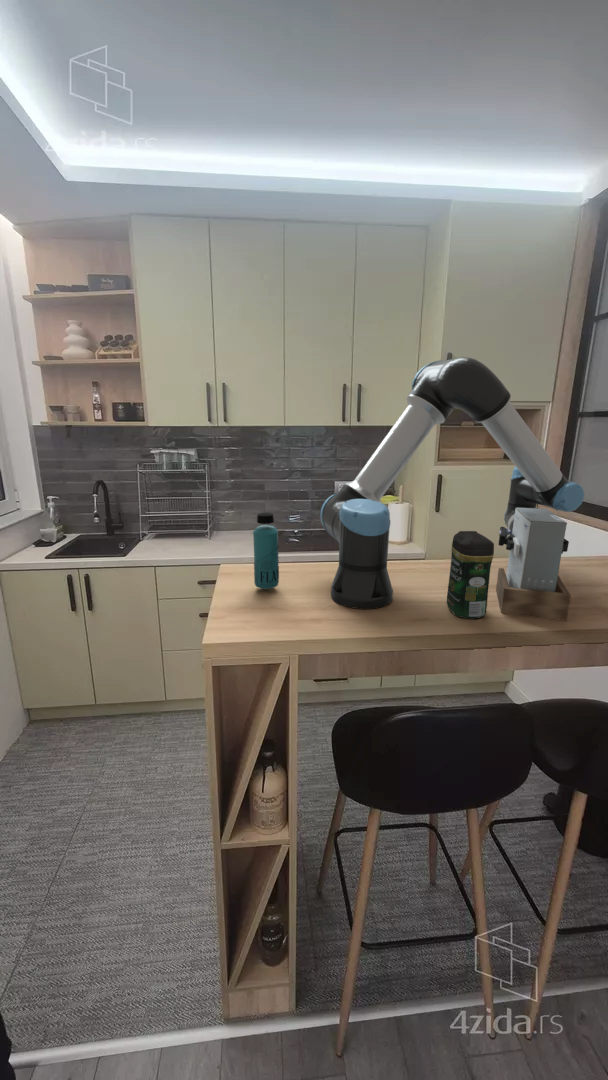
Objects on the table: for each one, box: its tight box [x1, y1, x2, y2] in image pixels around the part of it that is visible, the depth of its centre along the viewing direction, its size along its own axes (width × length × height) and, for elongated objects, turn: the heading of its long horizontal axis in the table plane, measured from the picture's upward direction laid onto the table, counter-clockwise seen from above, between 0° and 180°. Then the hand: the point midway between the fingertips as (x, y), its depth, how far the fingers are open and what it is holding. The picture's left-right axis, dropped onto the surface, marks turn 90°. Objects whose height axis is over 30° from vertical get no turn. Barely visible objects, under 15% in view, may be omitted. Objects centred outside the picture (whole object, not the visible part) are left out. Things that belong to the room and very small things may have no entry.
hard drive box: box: [505, 507, 568, 592], centre depth 110 cm, size 16×8×20 cm, turn 168°
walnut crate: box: [495, 567, 572, 622], centre depth 109 cm, size 13×14×6 cm
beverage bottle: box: [252, 512, 280, 590], centre depth 115 cm, size 6×7×20 cm
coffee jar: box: [446, 530, 495, 620], centre depth 104 cm, size 10×8×19 cm
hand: (538, 552), depth 105 cm, fingers closed on hard drive box, 8 cm apart
